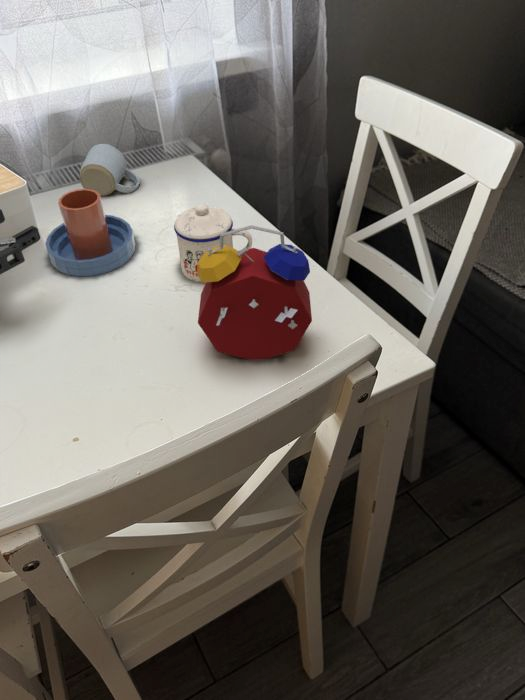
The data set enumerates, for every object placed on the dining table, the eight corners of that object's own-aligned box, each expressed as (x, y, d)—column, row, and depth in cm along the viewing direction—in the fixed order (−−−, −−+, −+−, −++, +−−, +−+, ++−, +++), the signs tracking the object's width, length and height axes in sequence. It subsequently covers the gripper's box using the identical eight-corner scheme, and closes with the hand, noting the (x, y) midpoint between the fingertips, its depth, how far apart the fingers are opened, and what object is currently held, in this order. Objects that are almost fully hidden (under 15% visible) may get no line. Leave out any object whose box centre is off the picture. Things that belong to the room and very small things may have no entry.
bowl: (36, 273, 98) (29, 256, 96) (74, 227, 108) (69, 210, 106) (115, 284, 96) (111, 266, 93) (147, 236, 106) (144, 218, 103)
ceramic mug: (81, 198, 116) (72, 161, 110) (93, 178, 121) (85, 142, 116) (135, 200, 115) (128, 163, 110) (144, 179, 121) (138, 143, 116)
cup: (67, 260, 100) (51, 207, 93) (84, 239, 104) (70, 187, 97) (102, 264, 99) (89, 211, 92) (118, 243, 103) (106, 190, 96)
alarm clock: (307, 331, 86) (312, 209, 73) (311, 374, 80) (317, 250, 66) (206, 333, 87) (191, 212, 73) (201, 376, 80) (184, 253, 67)
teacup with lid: (178, 287, 95) (168, 223, 87) (182, 254, 101) (173, 192, 93) (254, 284, 95) (251, 220, 87) (252, 251, 101) (250, 189, 93)
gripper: (-65, 273, 73) (42, 215, 82) (-124, 236, 79) (-18, 185, 88) (-42, 319, 78) (57, 259, 87) (-99, 280, 84) (-2, 229, 93)
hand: (19, 222), depth 88 cm, fingers open, 8 cm apart
